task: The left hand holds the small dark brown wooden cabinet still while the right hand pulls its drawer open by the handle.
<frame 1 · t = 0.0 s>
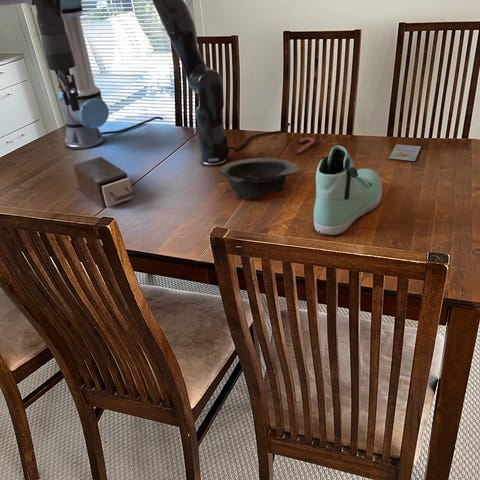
right hand: (72, 107, 144), 29 cm above the table, tool pointing down, fingers open, 8 cm apart
drawer: (109, 186, 154), point 4 cm above the table, slide at 1.5 cm
sneaker: (348, 208, 139), on the table
candy cane: (303, 147, 183), on the table
stone bowl: (258, 188, 155), on the table
baking ingredient package: (405, 153, 171), on the table
cabinet: (104, 192, 160), on the table
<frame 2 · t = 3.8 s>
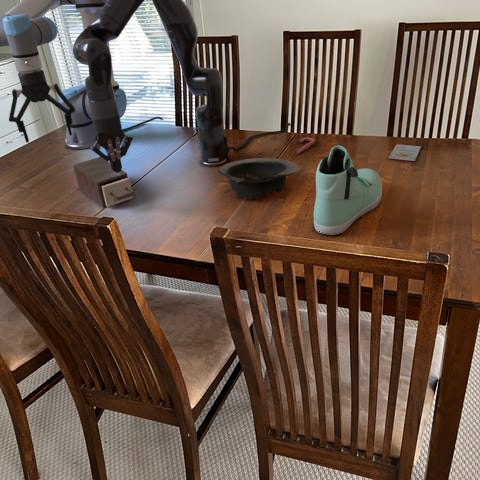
left hand: (49, 137, 157), 18 cm above the table, tool pointing down, fingers open, 13 cm apart
right hand: (117, 171, 143), 12 cm above the table, tool pointing down, fingers closed
nothing on the table moved.
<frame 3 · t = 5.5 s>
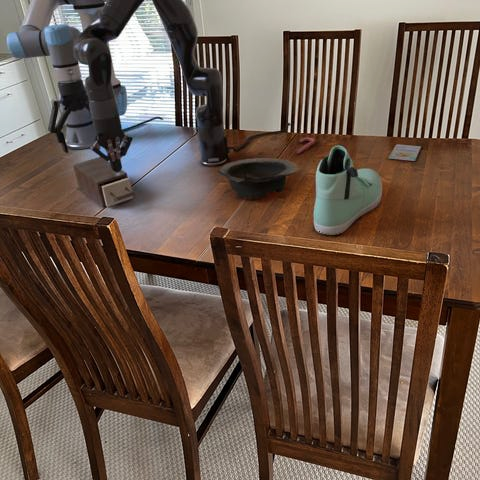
left hand: (86, 146, 158), 14 cm above the table, tool pointing down, fingers open, 13 cm apart
right hand: (117, 171, 143), 12 cm above the table, tool pointing down, fingers closed
nothing on the table moved.
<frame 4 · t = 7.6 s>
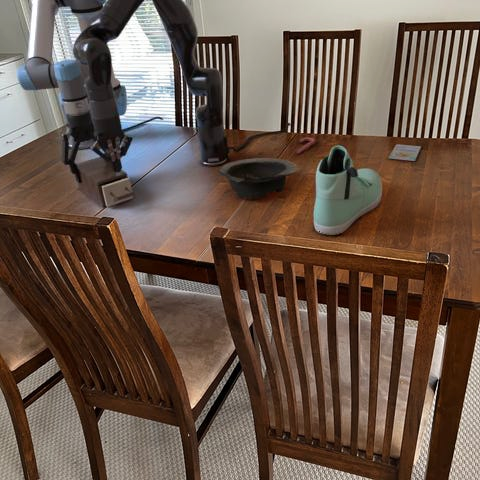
left hand: (94, 176, 164), 3 cm above the table, tool pointing down, fingers closed on cabinet, 10 cm apart
right hand: (117, 171, 143), 12 cm above the table, tool pointing down, fingers closed
cabinet: (104, 192, 160), on the table, touching left hand
everything else where it was.
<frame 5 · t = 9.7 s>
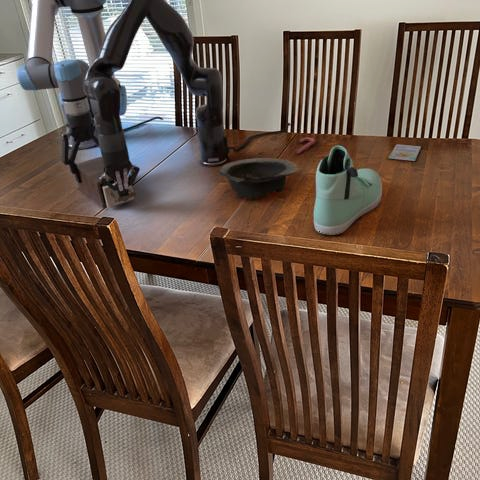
left hand: (94, 176, 164), 3 cm above the table, tool pointing down, fingers closed on cabinet, 10 cm apart
right hand: (124, 199, 147), 3 cm above the table, tool pointing down, fingers closed
drawer: (110, 187, 153), point 4 cm above the table, slide at 2.3 cm, touching right hand
cabinet: (104, 192, 160), on the table, touching left hand
everything else where it was.
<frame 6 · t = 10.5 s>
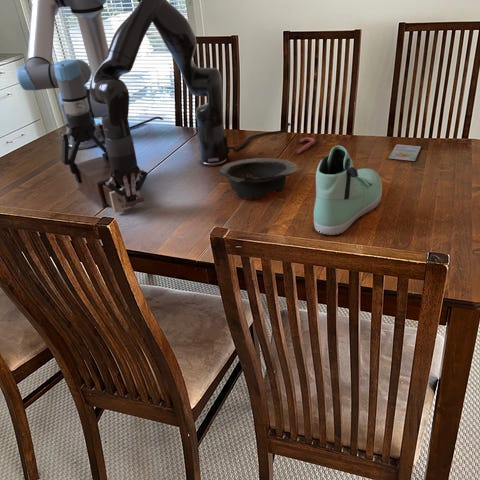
left hand: (94, 176, 163), 3 cm above the table, tool pointing down, fingers closed on cabinet, 10 cm apart
right hand: (132, 205, 143), 3 cm above the table, tool pointing down, fingers closed
drawer: (117, 192, 150), point 4 cm above the table, slide at 7.2 cm, touching right hand
cabinet: (104, 192, 160), on the table, touching left hand
everything else where it was.
when the left hand's fingers open (3 cm above the table, at t = 12.3 s): cabinet stays where it is, on the table.
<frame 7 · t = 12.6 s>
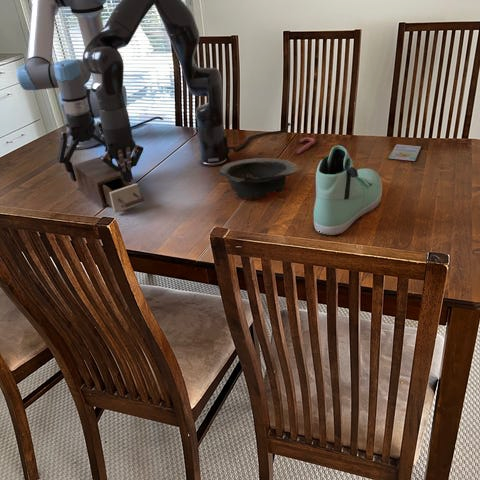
left hand: (93, 174, 163), 4 cm above the table, tool pointing down, fingers open, 13 cm apart
right hand: (127, 181, 139), 11 cm above the table, tool pointing down, fingers closed
drawer: (117, 191, 150), point 4 cm above the table, slide at 7.2 cm
cabinet: (104, 192, 160), on the table
everything else where it was.
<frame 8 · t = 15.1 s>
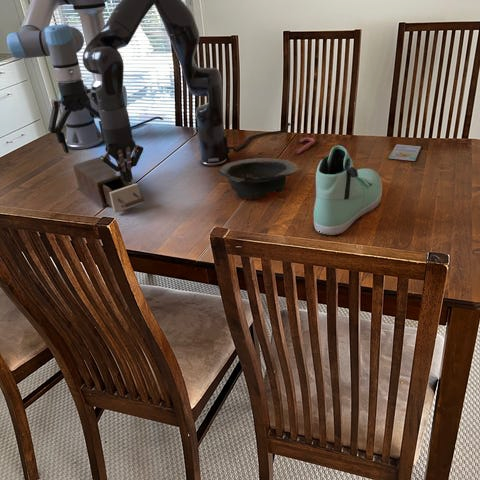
left hand: (86, 146, 158), 14 cm above the table, tool pointing down, fingers open, 13 cm apart
right hand: (127, 181, 139), 11 cm above the table, tool pointing down, fingers closed
nothing on the table moved.
at the end: drawer slide at 7.2 cm; cabinet tilted 0°; cabinet never tilted more than 1° during the clip; cabinet moved 0.0 cm from its start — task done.
